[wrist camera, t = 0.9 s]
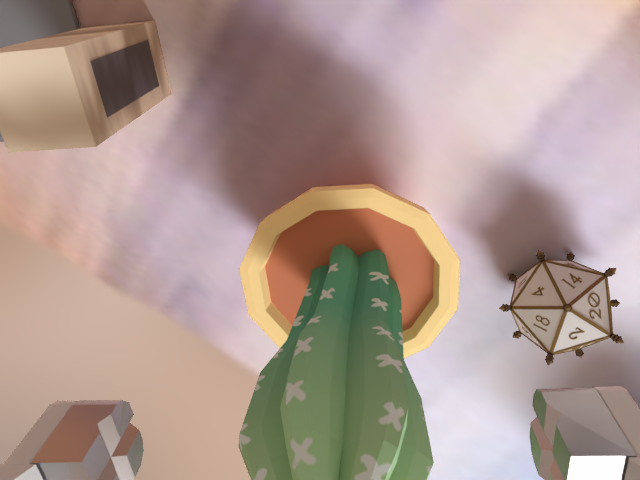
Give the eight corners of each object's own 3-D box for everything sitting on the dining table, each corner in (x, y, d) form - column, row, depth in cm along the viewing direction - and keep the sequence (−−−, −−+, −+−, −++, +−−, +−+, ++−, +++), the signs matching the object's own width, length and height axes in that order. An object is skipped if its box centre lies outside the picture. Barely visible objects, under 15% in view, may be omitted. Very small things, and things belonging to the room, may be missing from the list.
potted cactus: (251, 291, 45) (146, 599, 23) (270, 127, 38) (142, 358, 16) (418, 322, 45) (468, 654, 24) (471, 164, 38) (617, 443, 16)
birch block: (86, 27, 35) (-31, 55, 25) (155, 20, 34) (64, 46, 24) (107, 98, 37) (9, 152, 27) (172, 93, 37) (96, 146, 26)
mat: (-105, 6, 35) (-110, 7, 35) (67, -12, 34) (63, -12, 33) (-42, 142, 40) (-46, 145, 40) (111, 131, 39) (108, 133, 38)
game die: (516, 241, 45) (519, 230, 35) (622, 266, 42) (656, 260, 32) (490, 338, 45) (487, 351, 35) (595, 369, 42) (621, 393, 32)
